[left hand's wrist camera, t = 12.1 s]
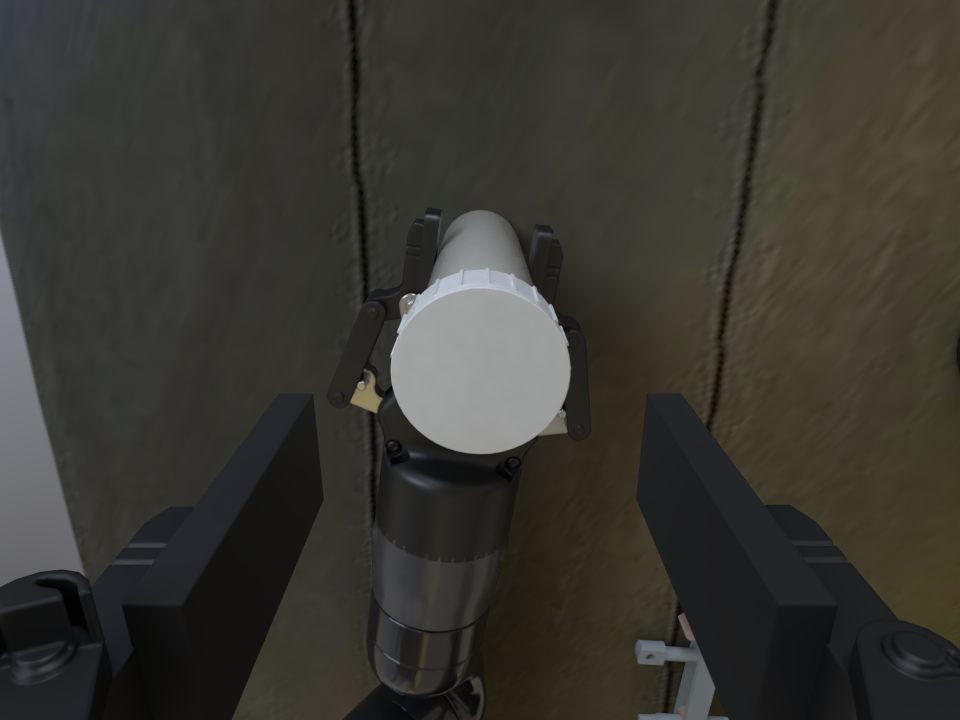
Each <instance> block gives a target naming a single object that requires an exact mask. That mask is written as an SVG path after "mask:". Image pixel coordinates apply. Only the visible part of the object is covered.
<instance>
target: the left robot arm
mask: <svg viewBox="0 0 960 720" xmlns="http://www.w3.org/2000/svg"><path fill="white" fill-rule="evenodd" d="M323 499H324V497H323V488H322V478H321V468H320V458H319V448H318V439H317V429H316V419H315V409H314V399H313V394H278V396H277V397H276V398H275V400H274V401H273V402H272V404H271V405H270V406H269V408H268V409H267V410H266V412H265V413H264V414H263V416H262V417H261V419H260V420H259V421H258V423H257V424H256V425H255V427H254V428H253V429H252V431H251V432H250V433H249V435H248V436H247V437H246V439H245V440H244V441H243V443H242V444H241V445H240V447H239V448H238V449H237V451H236V452H235V453H234V455H233V456H232V457H231V459H230V460H229V461H228V463H227V464H226V465H225V467H224V468H223V469H222V471H221V472H220V473H219V475H218V476H217V477H216V479H215V480H214V482H213V483H212V484H211V486H210V487H209V488H208V490H207V491H206V492H205V494H204V495H203V496H202V498H201V499H200V500H199V502H198V503H197V504H196V506H195V507H169V508H168V509H166V510H165V511H163V512H162V513H160V514H159V515H157V516H156V517H154V518H153V519H151V520H150V521H148V522H147V523H145V524H144V525H143V526H142V528H141V529H140V530H139V531H138V532H137V533H136V535H135V536H134V537H133V538H132V539H131V541H130V542H129V543H128V547H127V548H124V549H123V550H122V551H121V553H120V554H119V555H118V556H117V557H116V558H115V560H114V563H113V565H110V566H109V567H108V568H107V569H106V570H105V572H104V573H103V574H102V575H101V576H100V578H99V579H98V580H97V581H96V582H95V583H94V585H93V586H92V587H90V583H89V580H88V579H87V578H86V577H84V576H83V575H82V574H81V573H79V572H75V571H68V570H53V571H44V572H39V573H35V574H32V575H29V576H25V577H22V578H19V579H16V580H14V581H12V582H10V583H8V584H6V585H4V586H2V587H0V720H231V719H232V717H233V715H234V712H235V710H236V707H237V705H238V703H239V700H240V698H241V695H242V693H243V691H244V688H245V686H246V683H247V681H248V679H249V676H250V674H251V671H252V669H253V667H254V664H255V662H256V660H257V657H258V655H259V652H260V650H261V648H262V645H263V643H264V640H265V638H266V636H267V633H268V631H269V628H270V626H271V624H272V621H273V619H274V616H275V614H276V612H277V609H278V607H279V604H280V602H281V600H282V597H283V595H284V592H285V590H286V588H287V585H288V583H289V580H290V578H291V576H292V573H293V571H294V569H295V566H296V564H297V561H298V559H299V557H300V554H301V552H302V549H303V547H304V545H305V542H306V540H307V537H308V535H309V533H310V530H311V528H312V525H313V523H314V521H315V518H316V516H317V513H318V511H319V509H320V506H321V504H322V501H323ZM636 499H637V501H638V504H639V506H640V509H641V511H642V513H643V516H644V518H645V521H646V523H647V525H648V528H649V530H650V533H651V535H652V537H653V540H654V542H655V545H656V547H657V549H658V552H659V554H660V557H661V559H662V561H663V564H664V566H665V569H666V571H667V573H668V576H669V578H670V580H671V583H672V585H673V588H674V590H675V592H676V595H677V597H678V600H679V602H680V604H681V607H682V609H683V612H684V614H685V616H686V619H687V621H688V624H689V626H690V628H691V631H692V633H693V636H694V638H695V640H696V643H697V645H698V648H699V650H700V652H701V655H702V657H703V660H704V662H705V664H706V667H707V669H708V671H709V674H710V676H711V679H712V681H713V683H714V686H715V688H716V691H717V693H718V695H719V698H720V700H721V703H722V705H723V707H724V710H725V712H726V715H727V717H728V719H729V720H960V649H958V648H957V647H956V646H955V645H954V644H952V643H951V642H950V641H948V640H947V639H945V638H943V637H941V636H939V635H938V634H936V633H934V632H932V631H930V630H929V629H926V628H923V627H921V626H918V625H915V624H912V623H909V622H906V621H900V620H898V618H897V617H896V616H895V615H894V614H893V613H892V611H891V610H890V609H889V608H888V607H887V605H886V604H885V603H884V602H883V601H882V599H881V598H880V597H879V596H878V595H877V594H876V592H875V591H874V590H873V589H872V588H871V586H870V585H869V584H868V583H867V582H866V581H865V579H864V578H863V577H862V576H861V575H860V573H859V572H858V571H857V570H856V569H855V568H854V566H853V565H852V564H851V563H848V562H847V558H846V557H845V556H844V555H843V553H842V552H841V551H840V550H839V549H838V547H837V546H833V541H832V540H831V539H830V538H829V537H828V536H827V534H826V533H825V532H824V531H823V530H822V528H821V527H820V526H819V525H818V524H817V523H816V522H815V521H814V520H812V519H811V518H809V517H808V516H806V515H805V514H803V513H802V512H800V511H799V510H797V509H796V508H794V507H792V506H791V505H764V504H763V503H762V502H761V500H760V499H759V498H758V496H757V495H756V494H755V492H754V491H753V490H752V488H751V487H750V486H749V484H748V483H747V482H746V480H745V479H744V477H743V476H742V475H741V473H740V472H739V471H738V469H737V468H736V467H735V465H734V464H733V463H732V461H731V460H730V459H729V457H728V456H727V455H726V453H725V452H724V451H723V449H722V448H721V447H720V445H719V444H718V443H717V441H716V440H715V439H714V437H713V436H712V435H711V433H710V432H709V431H708V429H707V428H706V427H705V425H704V424H703V423H702V421H701V420H700V419H699V417H698V416H697V414H696V413H695V412H694V410H693V409H692V408H691V406H690V405H689V404H688V402H687V401H686V400H685V398H684V397H683V396H682V394H647V399H646V409H645V419H644V429H643V439H642V448H641V458H640V468H639V478H638V488H637V497H636Z"/></svg>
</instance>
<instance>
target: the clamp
mask: <svg viewBox="0 0 960 720" xmlns="http://www.w3.org/2000/svg"><path fill="white" fill-rule="evenodd" d="M678 618H679V621H680V623H681V626H682V628H683V631H684V633H685V636H686V638H687V639H688V640H691V643H690V647H673V646H665V643H664V642H663V641H651V640H638V641H637V643H636V645H635V654H636V657H637V661H638V664H648V665H664V661H680V662H686V663H685V667H684V671H683V675H682V679H681V683H680V687H679V691H678V695H677V699H676V703H675V707H674V712H673V714H669V713H655V714H638V720H729V719H728V717H723V716H708V713H709V709H710V705H711V702H712V698H713V694H714V691H715V686H714V683H713V681H712V679H711V676H710V674H709V671H708V669H707V667H706V664H705V662H704V660H703V657H702V655H701V652H700V650H699V648H698V645H697V643H696V640H695V638H694V636H693V633H692V631H691V628H690V626H689V624H688V621H687V619H686V616H685V614H684V613H682V614H681V615H679V616H678Z"/></svg>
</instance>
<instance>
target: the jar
mask: <svg viewBox="0 0 960 720" xmlns="http://www.w3.org/2000/svg"><path fill="white" fill-rule="evenodd" d="M486 268H489V270H493V271H498V272H503V273H506V274H509V275H511V273H512V274H514V275H515V277H516V278H518V279H520V280H522V281H524V282H526V283H527V284H529V285H530V286H531V287H533V286H534V285H533V282H532V279H531V276H530V273H529V270H528V267H527V264H526V261H525V258H524V255H523V252H522V249H521V246H520V243H519V240H518V237H517V234H516V232H515V230H514V228H513V227H512V226H511V224H510V223H509V222H508V221H507V220H506V219H505V218H503V217H502V216H500V215H498V214H496V213H493V212H490V211H484V210H476V211H471V212H468V213H465V214H463V215H461V216H460V217H458V218H457V219H456V220H454V221H453V222H452V223H451V225H450V226H449V227H448V229H447V230H446V232H445V234H444V237H443V240H442V243H441V246H440V250H439V253H438V256H437V259H436V262H435V265H434V268H433V271H432V274H431V277H430V280H429V283H428V286H427V289H428V288H429V287H430V286H431V285H433V284H434V283H435V282H436V280H437V279H438V278H439V279H440V280H441V279H443V278H445V277H447V276H450V275H452V274H456V273H459V272H460V270H463V271H469V270H486Z"/></svg>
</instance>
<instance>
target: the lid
mask: <svg viewBox="0 0 960 720" xmlns="http://www.w3.org/2000/svg"><path fill="white" fill-rule="evenodd" d="M558 322H559V321H558V319H557V316H556V314H555V311H554V309H553V306H552V305H551V304H550V305H549V304H548V303H547V302H546V300H545V299H544V298H543V297H542V296H541V295H540V294H539V293H538V291H537V288H536V287H535V286H533V287H531V286H530V285H529V284H527V283H526V282H524V281H522V280H520V279H518V278H516V277H515V275H514V274H512V273H511V275H509V274H506V273H503V272H498V271H493V270H489V268H486V270H469V271H463V270H460V272H459V273H456V274H452V275H450V276H447V277H445V278H443V279H441V280H440V279H439V278H438V279H437V280H436V282H435V283H434V284H433V285H431V286H430V287H429V288H428V289H426V290H425V291H424V292H423V293H422V294H421V295H420V294H418V295H417V296H416V299H415V302H414V304H413V305H412V307H411V308H410V310H409V312H408V314H407V315H406V314H404V316H403V319H402V321H401V324H400V326H399V329H398V331H397V333H398V334H399V336H398V337H397V340H396V342H395V345H394V348H393V350H392V353H391V358H392V360H391V380H392V386H393V390H394V394H395V397H396V399H397V402H398V404H399V406H400V408H401V410H402V412H403V413H404V415H405V416H406V417H407V419H408V420H409V421H410V423H411V424H412V425H413V426H414V427H415V428H416V429H417V430H418V431H419V432H421V433H422V434H423V435H424V436H426V437H427V438H429V439H430V440H432V441H433V442H435V443H437V444H439V445H441V446H443V447H446V448H449V449H452V450H455V451H459V452H464V453H470V454H491V453H498V452H503V451H506V450H510V449H513V448H515V447H518V446H520V445H523V444H524V443H526V442H528V441H530V440H532V439H533V438H534V437H536V436H537V435H538V434H540V433H541V432H542V431H543V430H544V429H545V428H546V427H547V426H548V425H549V424H550V423H551V422H552V421H553V419H554V418H555V417H556V415H557V414H558V412H559V411H560V409H561V407H562V405H563V403H564V401H565V398H566V395H567V392H568V389H569V383H570V377H571V365H570V357H569V352H568V349H567V346H569V344H568V341H567V338H566V336H565V333H564V331H563V328H562V326H559V324H558Z"/></svg>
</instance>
